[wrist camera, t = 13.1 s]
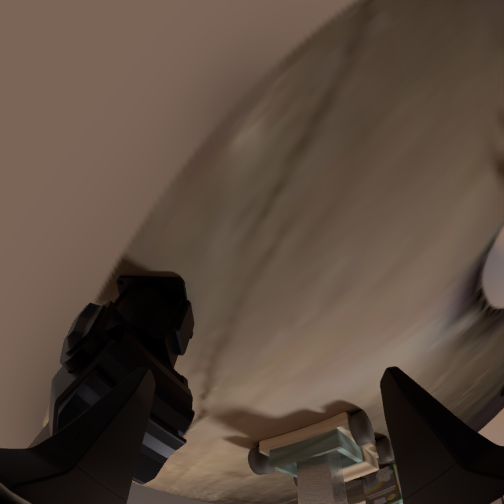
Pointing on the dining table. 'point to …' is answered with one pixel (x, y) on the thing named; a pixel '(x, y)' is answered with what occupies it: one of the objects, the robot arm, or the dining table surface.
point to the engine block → (321, 480)
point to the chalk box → (382, 486)
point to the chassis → (324, 447)
